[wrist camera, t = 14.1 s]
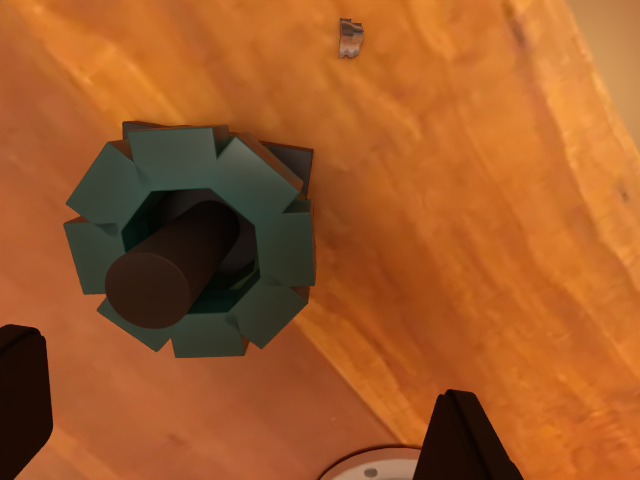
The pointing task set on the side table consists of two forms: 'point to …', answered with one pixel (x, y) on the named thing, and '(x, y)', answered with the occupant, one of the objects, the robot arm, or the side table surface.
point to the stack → (189, 248)
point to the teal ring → (235, 189)
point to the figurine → (350, 38)
